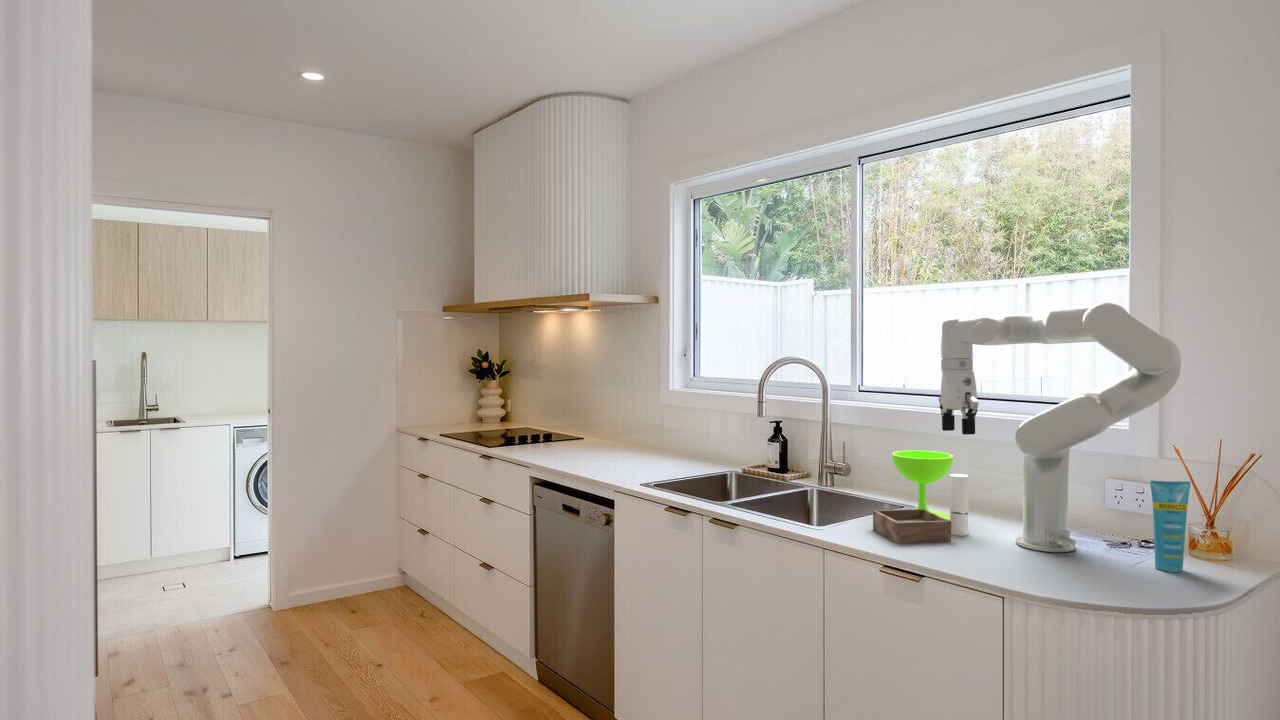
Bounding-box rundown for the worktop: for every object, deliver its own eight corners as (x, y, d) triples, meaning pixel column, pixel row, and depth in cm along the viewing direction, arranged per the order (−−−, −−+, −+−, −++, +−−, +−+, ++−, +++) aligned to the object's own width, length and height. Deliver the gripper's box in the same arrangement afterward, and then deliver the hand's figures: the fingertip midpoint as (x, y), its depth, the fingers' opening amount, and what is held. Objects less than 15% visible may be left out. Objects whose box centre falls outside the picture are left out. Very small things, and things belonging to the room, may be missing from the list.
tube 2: (1156, 572, 159) (1156, 482, 158) (1144, 565, 164) (1145, 478, 163) (1194, 573, 158) (1195, 483, 157) (1181, 566, 162) (1182, 478, 162)
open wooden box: (951, 541, 184) (951, 521, 184) (897, 543, 183) (897, 523, 183) (923, 527, 198) (923, 508, 198) (873, 529, 197) (873, 510, 197)
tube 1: (946, 531, 194) (946, 474, 194) (962, 531, 194) (962, 473, 194) (955, 535, 190) (955, 477, 189) (971, 535, 190) (971, 476, 190)
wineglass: (880, 514, 214) (880, 452, 214) (928, 511, 218) (928, 449, 218) (915, 527, 198) (915, 460, 198) (966, 523, 203) (966, 457, 202)
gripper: (990, 365, 183) (991, 435, 184) (953, 365, 201) (954, 428, 201) (961, 366, 183) (962, 436, 183) (926, 365, 200) (927, 429, 200)
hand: (958, 432), depth 192 cm, fingers open, 9 cm apart
